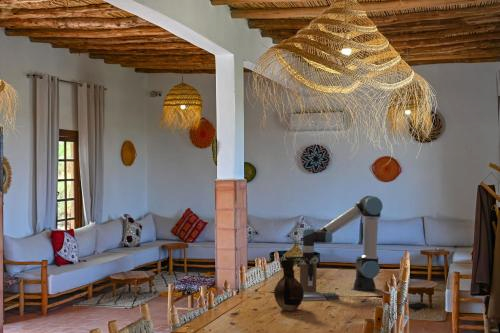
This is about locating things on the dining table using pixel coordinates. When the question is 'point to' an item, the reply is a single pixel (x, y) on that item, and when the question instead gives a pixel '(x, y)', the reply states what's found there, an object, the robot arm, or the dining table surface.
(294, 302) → the ceramic vessel
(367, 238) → the robot arm
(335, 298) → the button housing
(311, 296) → the shallow gray tray
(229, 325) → the dining table surface
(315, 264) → the wooden block
